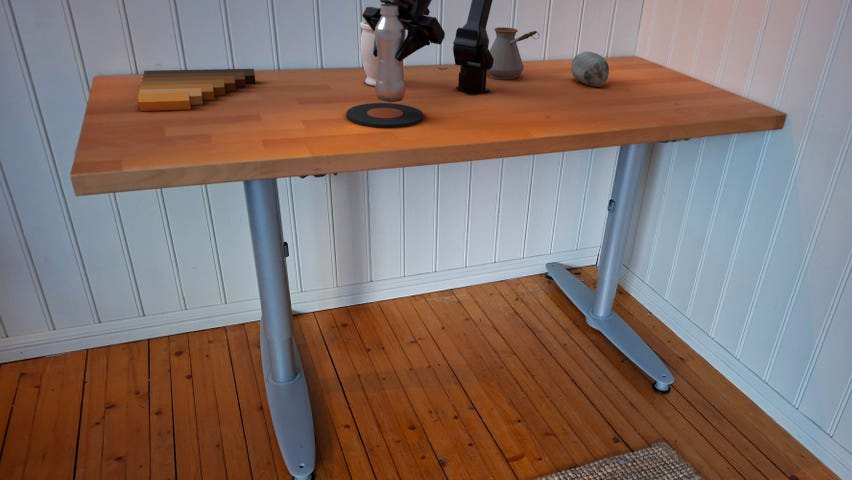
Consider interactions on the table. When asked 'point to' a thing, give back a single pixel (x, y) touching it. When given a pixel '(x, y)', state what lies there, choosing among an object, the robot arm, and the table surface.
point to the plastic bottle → (389, 55)
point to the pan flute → (188, 87)
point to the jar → (368, 53)
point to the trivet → (385, 115)
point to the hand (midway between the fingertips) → (386, 57)
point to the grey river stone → (590, 69)
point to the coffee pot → (507, 54)
